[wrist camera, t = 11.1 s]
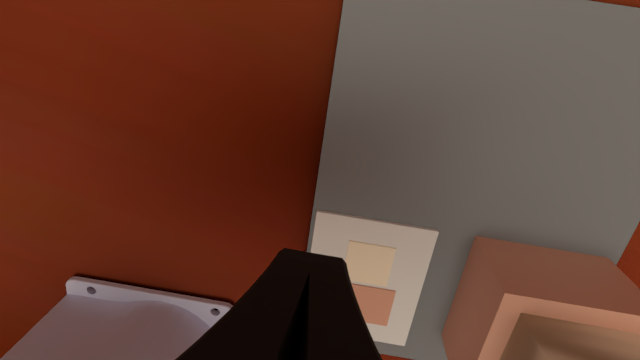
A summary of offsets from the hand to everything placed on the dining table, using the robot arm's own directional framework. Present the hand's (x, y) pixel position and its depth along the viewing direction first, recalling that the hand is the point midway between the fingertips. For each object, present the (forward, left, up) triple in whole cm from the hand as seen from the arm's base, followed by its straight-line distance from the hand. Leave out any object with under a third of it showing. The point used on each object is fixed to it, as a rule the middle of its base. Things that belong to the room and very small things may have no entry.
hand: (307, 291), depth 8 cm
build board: (+6, -2, -10) cm, 12 cm away
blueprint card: (+2, -6, -9) cm, 12 cm away
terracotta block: (+10, -6, -9) cm, 15 cm away
